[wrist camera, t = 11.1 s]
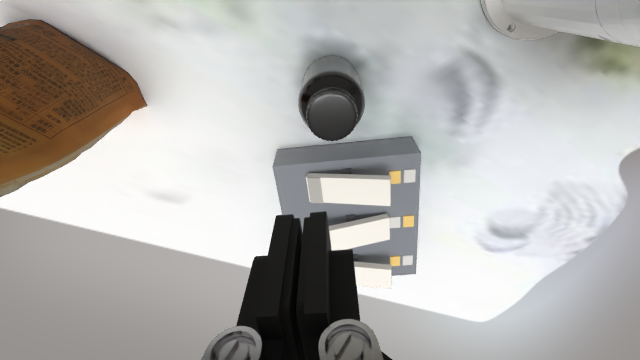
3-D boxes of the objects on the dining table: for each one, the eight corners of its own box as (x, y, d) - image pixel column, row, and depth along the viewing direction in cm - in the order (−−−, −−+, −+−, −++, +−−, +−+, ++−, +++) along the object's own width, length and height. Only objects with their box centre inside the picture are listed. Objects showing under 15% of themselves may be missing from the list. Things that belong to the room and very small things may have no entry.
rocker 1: (390, 175, 39) (390, 180, 38) (391, 201, 41) (390, 207, 40) (308, 173, 42) (305, 178, 41) (311, 197, 44) (309, 202, 43)
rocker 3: (391, 264, 46) (390, 271, 45) (391, 283, 48) (391, 290, 47) (320, 258, 49) (318, 264, 48) (323, 276, 50) (321, 282, 49)
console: (411, 136, 45) (422, 155, 40) (408, 251, 55) (417, 277, 50) (277, 149, 46) (271, 169, 41) (298, 259, 56) (295, 285, 51)
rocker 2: (386, 213, 44) (390, 218, 43) (387, 234, 46) (390, 240, 45) (312, 229, 43) (314, 235, 42) (315, 251, 45) (317, 257, 44)
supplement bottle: (302, 54, 40) (294, 78, 29) (360, 55, 40) (373, 79, 29) (303, 110, 43) (296, 150, 33) (356, 111, 43) (366, 151, 33)
